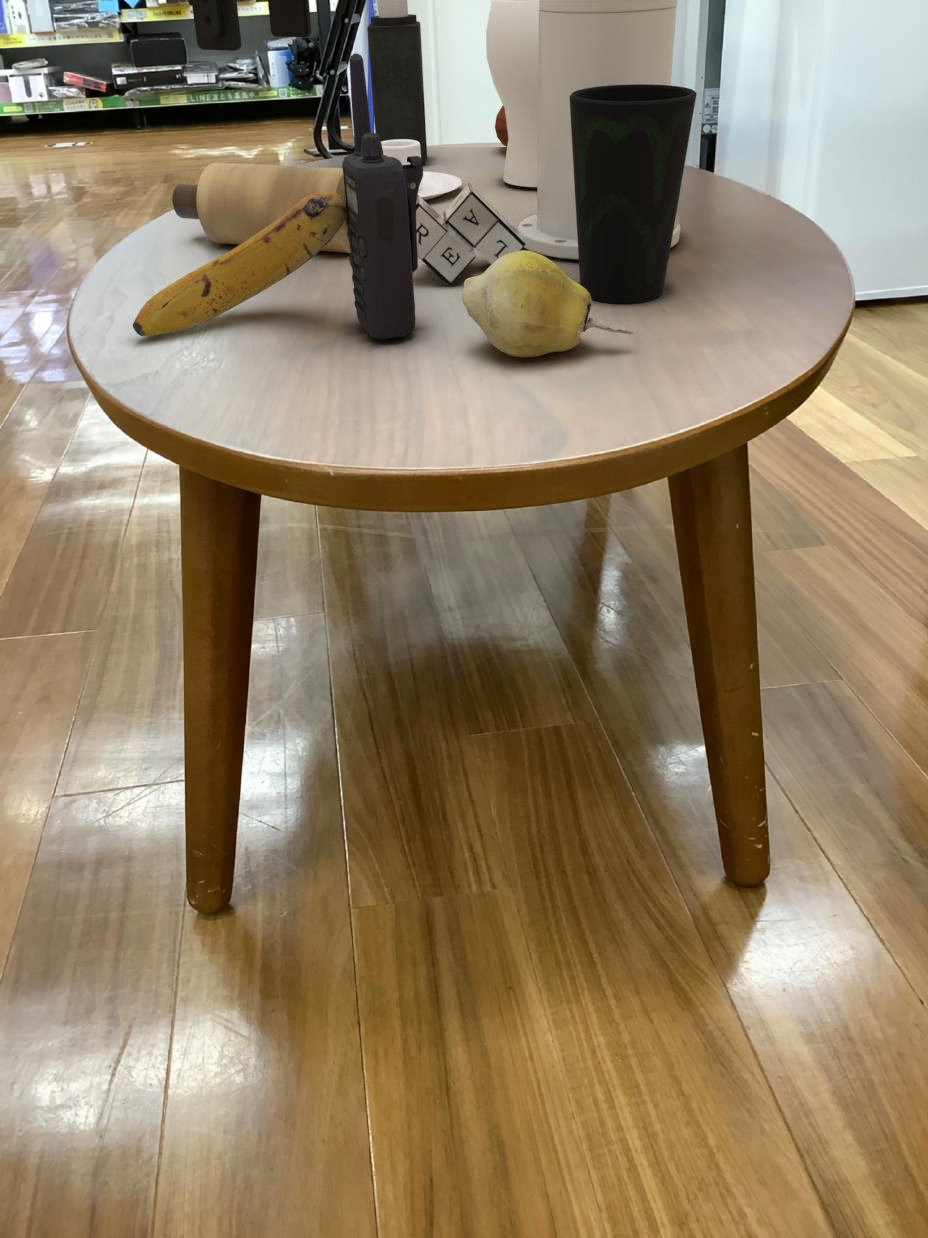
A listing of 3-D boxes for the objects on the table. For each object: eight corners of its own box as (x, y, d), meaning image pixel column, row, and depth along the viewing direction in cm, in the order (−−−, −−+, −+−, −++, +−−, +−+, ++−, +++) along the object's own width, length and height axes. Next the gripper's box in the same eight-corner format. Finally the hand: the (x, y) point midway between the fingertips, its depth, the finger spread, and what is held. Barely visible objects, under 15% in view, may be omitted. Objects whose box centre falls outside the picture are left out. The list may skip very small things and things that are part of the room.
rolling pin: (412, 245, 79) (407, 163, 76) (379, 264, 75) (373, 178, 72) (208, 231, 85) (196, 154, 82) (166, 247, 81) (152, 167, 78)
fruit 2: (637, 370, 56) (460, 353, 55) (615, 363, 62) (454, 347, 61) (653, 261, 54) (470, 241, 54) (629, 264, 60) (464, 246, 59)
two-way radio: (350, 318, 64) (324, 51, 56) (417, 309, 65) (401, 46, 57) (371, 346, 60) (345, 61, 51) (441, 336, 61) (428, 55, 52)
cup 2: (565, 163, 102) (569, -10, 94) (619, 182, 94) (629, -5, 86) (470, 176, 99) (465, -3, 90) (518, 196, 91) (518, 3, 82)
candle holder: (367, 214, 88) (363, 161, 86) (316, 190, 97) (310, 141, 94) (485, 195, 93) (484, 144, 90) (425, 173, 101) (423, 126, 99)
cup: (687, 278, 70) (705, 84, 63) (668, 312, 64) (686, 102, 57) (579, 271, 72) (585, 83, 65) (552, 303, 66) (555, 101, 59)
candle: (425, 166, 105) (409, -133, 90) (376, 167, 105) (353, -130, 91) (427, 156, 109) (413, -131, 95) (381, 158, 109) (359, -128, 95)
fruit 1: (308, 182, 54) (337, 233, 55) (352, 177, 62) (377, 222, 63) (99, 317, 60) (129, 363, 60) (165, 297, 68) (190, 337, 68)
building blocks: (472, 288, 76) (391, 214, 72) (521, 234, 74) (441, 154, 70) (477, 311, 71) (391, 232, 68) (530, 254, 69) (445, 170, 66)
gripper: (195, -301, 55) (237, 57, 64) (341, -259, 68) (358, 33, 78) (83, -292, 57) (140, 53, 67) (245, -253, 70) (273, 30, 80)
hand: (257, 42), depth 72 cm, fingers open, 9 cm apart
